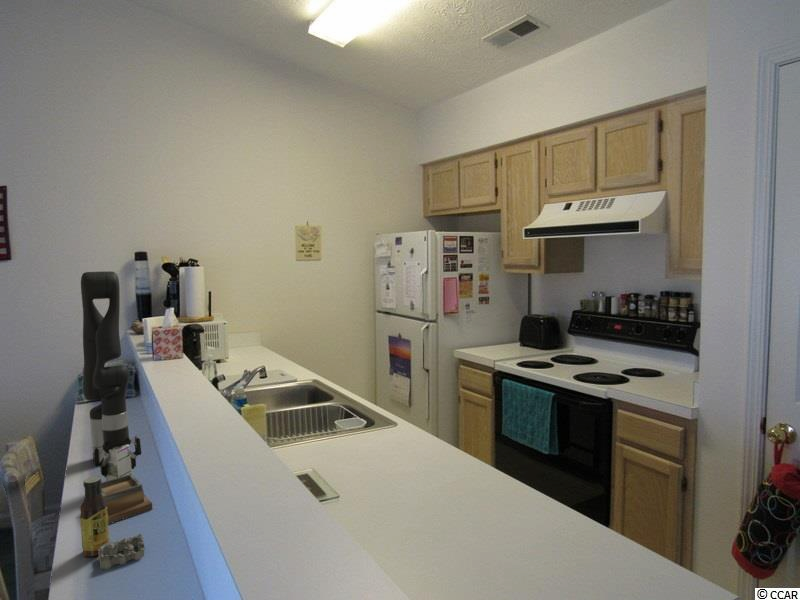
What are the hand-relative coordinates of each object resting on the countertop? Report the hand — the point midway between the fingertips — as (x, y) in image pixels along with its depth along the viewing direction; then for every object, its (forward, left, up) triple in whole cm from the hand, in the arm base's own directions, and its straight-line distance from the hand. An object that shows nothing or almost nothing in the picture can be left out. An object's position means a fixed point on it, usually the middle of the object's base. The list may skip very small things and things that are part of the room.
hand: (118, 472), depth 173 cm
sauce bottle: (+35, -15, -5) cm, 38 cm away
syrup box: (0, 0, -5) cm, 5 cm away
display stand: (+15, -4, -5) cm, 16 cm away
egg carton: (+43, -11, -6) cm, 44 cm away
